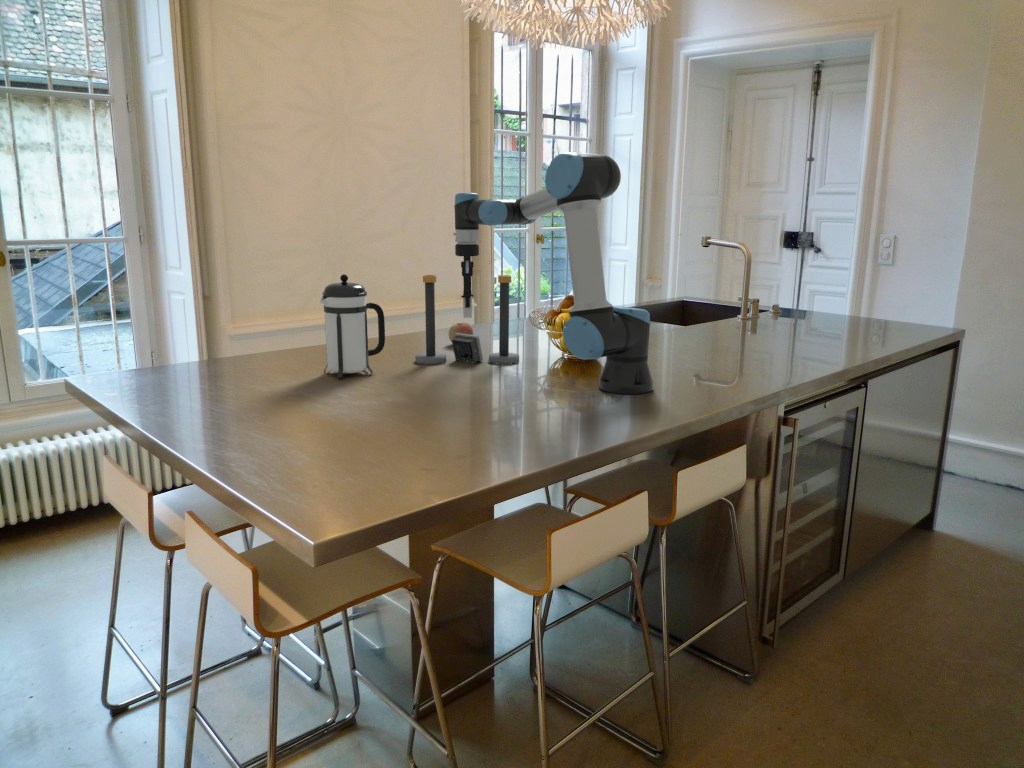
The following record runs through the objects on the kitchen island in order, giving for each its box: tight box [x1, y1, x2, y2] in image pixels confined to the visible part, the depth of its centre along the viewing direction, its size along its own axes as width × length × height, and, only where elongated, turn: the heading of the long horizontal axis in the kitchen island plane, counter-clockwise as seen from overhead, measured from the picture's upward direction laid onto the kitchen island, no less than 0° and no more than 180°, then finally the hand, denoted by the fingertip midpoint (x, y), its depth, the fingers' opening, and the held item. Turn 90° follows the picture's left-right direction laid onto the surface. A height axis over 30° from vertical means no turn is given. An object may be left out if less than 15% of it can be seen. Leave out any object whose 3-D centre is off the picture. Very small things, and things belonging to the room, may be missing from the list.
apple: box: [448, 322, 474, 343], centre depth 275 cm, size 9×9×8 cm
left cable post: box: [414, 274, 447, 366], centre depth 245 cm, size 10×10×28 cm
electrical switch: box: [451, 333, 484, 364], centre depth 248 cm, size 9×5×9 cm, turn 57°
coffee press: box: [319, 273, 386, 380], centre depth 227 cm, size 17×16×30 cm
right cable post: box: [488, 274, 520, 365], centre depth 246 cm, size 10×10×28 cm
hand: (467, 317), depth 245 cm, fingers closed
